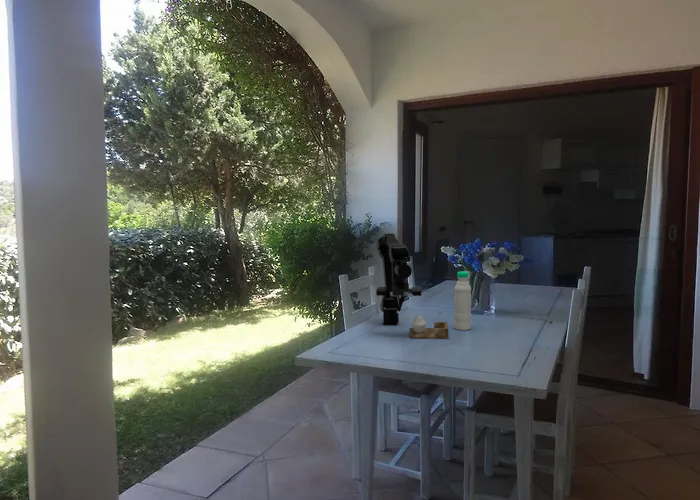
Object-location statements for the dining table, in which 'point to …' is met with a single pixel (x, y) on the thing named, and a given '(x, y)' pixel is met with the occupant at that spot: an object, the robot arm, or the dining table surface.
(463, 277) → the white milk bottle
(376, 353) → the dining table surface
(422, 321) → the muffin
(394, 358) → the dining table surface
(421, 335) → the channel bracket
